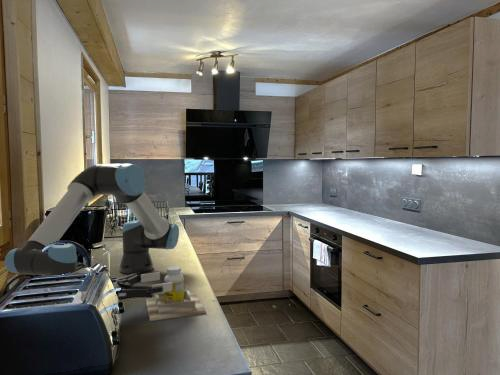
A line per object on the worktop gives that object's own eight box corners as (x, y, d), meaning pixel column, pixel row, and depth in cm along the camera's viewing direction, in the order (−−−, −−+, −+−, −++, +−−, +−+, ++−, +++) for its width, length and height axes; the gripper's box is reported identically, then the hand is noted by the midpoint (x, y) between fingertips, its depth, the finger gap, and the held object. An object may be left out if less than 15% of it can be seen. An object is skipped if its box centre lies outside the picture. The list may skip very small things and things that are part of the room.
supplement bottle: (160, 304, 131) (160, 267, 130) (177, 299, 136) (176, 264, 135) (171, 309, 126) (170, 271, 125) (188, 304, 131) (187, 267, 130)
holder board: (145, 301, 137) (145, 292, 136) (195, 295, 143) (195, 286, 142) (149, 320, 120) (149, 310, 120) (205, 313, 126) (205, 303, 125)
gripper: (93, 291, 129) (155, 281, 140) (105, 317, 108) (177, 303, 118) (92, 269, 129) (154, 261, 139) (105, 291, 107) (177, 279, 118)
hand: (165, 280), depth 129 cm, fingers open, 13 cm apart
